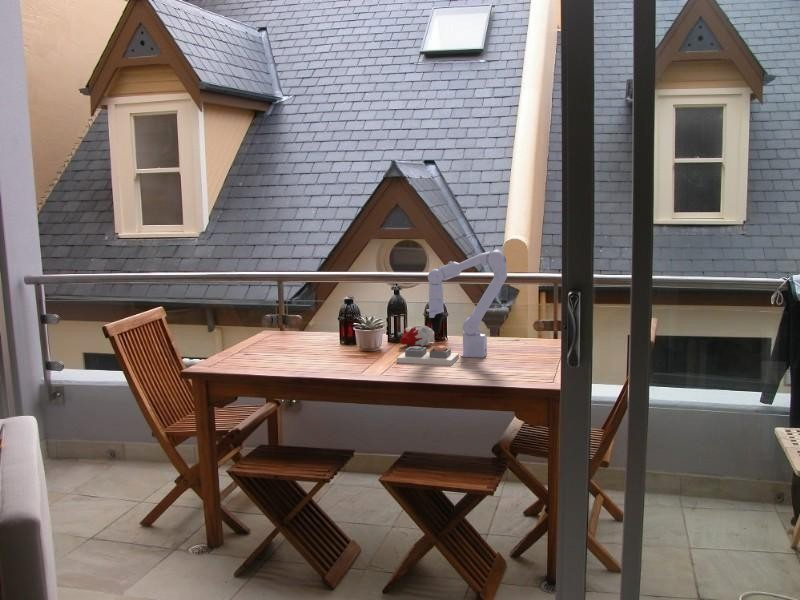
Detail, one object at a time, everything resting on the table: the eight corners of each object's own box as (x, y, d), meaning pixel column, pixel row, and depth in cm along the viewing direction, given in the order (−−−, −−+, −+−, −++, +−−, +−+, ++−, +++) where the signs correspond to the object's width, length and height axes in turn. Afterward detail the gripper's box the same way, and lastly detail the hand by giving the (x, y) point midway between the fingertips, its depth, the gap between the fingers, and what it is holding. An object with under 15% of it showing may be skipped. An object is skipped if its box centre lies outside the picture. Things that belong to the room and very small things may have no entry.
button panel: (458, 358, 317) (458, 347, 317) (451, 365, 306) (451, 353, 305) (406, 355, 324) (405, 344, 323) (397, 362, 313) (396, 351, 312)
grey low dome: (423, 352, 318) (422, 346, 317) (419, 355, 313) (419, 349, 313) (412, 352, 319) (411, 346, 319) (408, 354, 315) (408, 348, 314)
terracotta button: (447, 352, 314) (447, 345, 314) (444, 354, 310) (444, 348, 310) (436, 351, 316) (436, 345, 315) (433, 354, 312) (432, 347, 311)
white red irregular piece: (435, 342, 344) (415, 353, 333) (414, 339, 351) (393, 350, 340) (433, 323, 342) (413, 333, 331) (412, 320, 349) (391, 330, 337)
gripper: (431, 296, 328) (432, 328, 331) (421, 301, 315) (422, 335, 317) (447, 296, 326) (448, 328, 329) (438, 302, 313) (439, 336, 315)
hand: (436, 332), depth 323 cm, fingers closed
